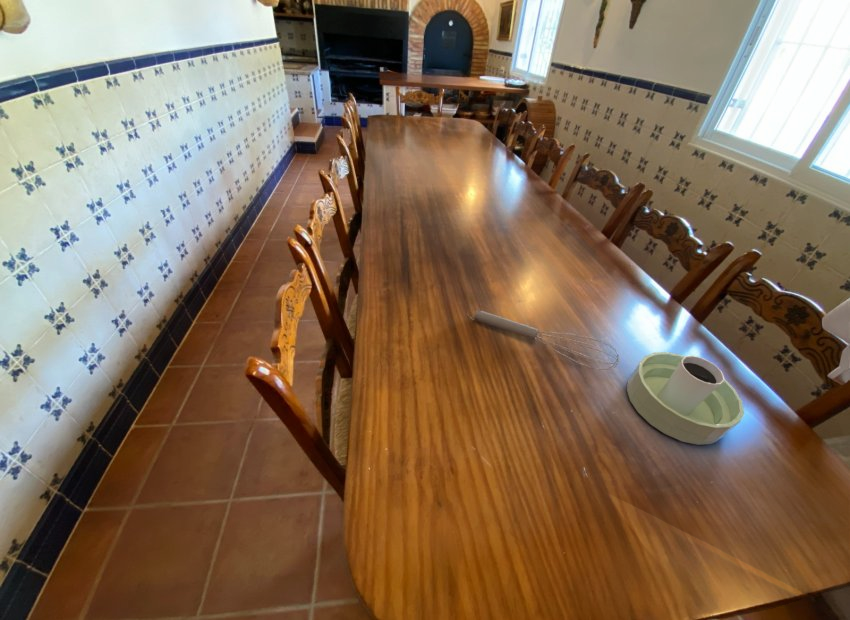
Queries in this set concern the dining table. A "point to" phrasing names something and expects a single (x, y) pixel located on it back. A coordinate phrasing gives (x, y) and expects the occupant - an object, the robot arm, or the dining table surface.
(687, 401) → the white coffee cup
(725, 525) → the dining table surface
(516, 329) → the kitchen whisk
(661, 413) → the bowl
